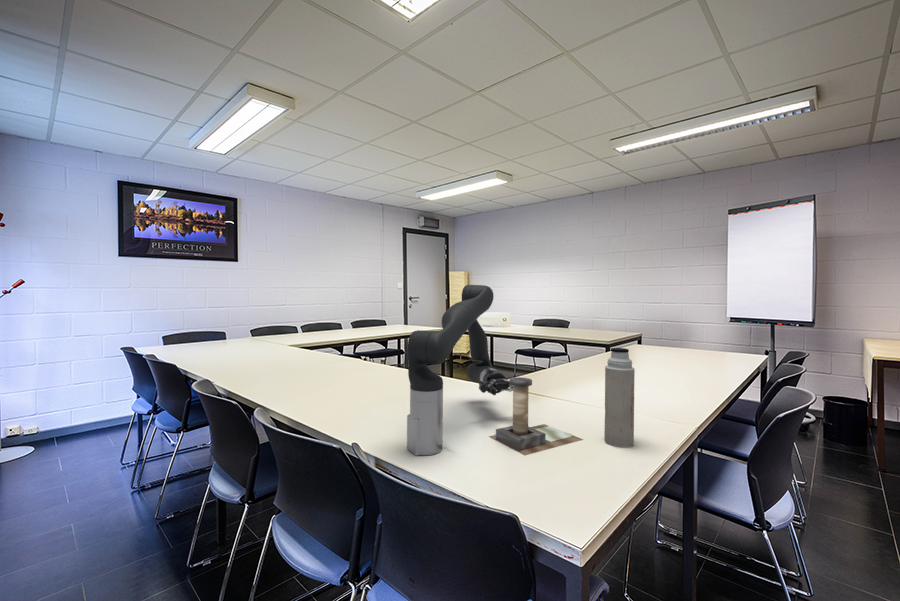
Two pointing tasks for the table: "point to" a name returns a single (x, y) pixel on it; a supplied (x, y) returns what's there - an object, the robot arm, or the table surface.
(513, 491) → the table surface
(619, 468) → the table surface
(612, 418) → the thermos bottle
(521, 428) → the wheel post
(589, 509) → the table surface
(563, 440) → the board
